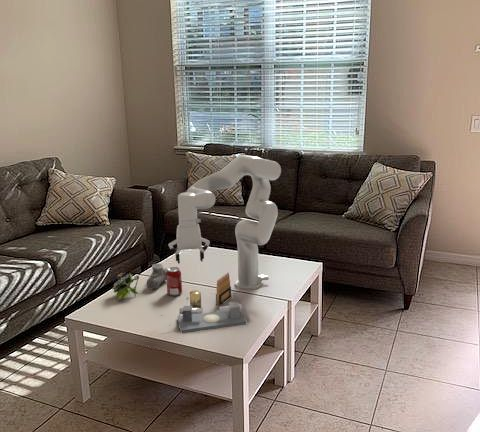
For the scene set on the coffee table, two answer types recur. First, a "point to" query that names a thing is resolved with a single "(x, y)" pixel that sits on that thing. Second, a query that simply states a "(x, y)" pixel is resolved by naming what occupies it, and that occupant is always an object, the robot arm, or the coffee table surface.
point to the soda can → (174, 281)
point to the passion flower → (124, 286)
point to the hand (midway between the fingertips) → (190, 261)
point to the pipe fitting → (157, 276)
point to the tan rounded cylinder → (195, 299)
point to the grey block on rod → (189, 312)
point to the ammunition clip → (223, 290)
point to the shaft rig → (214, 319)
